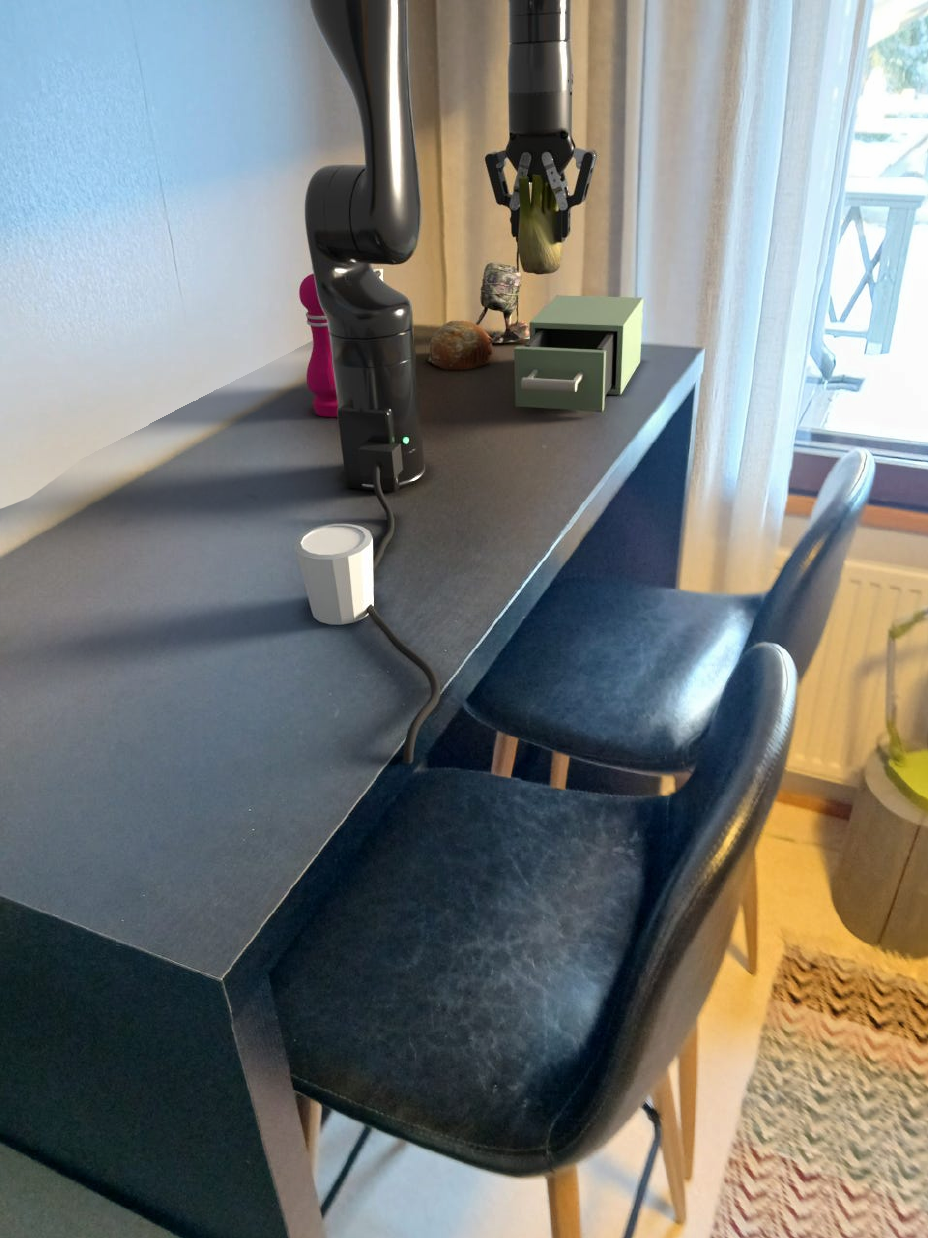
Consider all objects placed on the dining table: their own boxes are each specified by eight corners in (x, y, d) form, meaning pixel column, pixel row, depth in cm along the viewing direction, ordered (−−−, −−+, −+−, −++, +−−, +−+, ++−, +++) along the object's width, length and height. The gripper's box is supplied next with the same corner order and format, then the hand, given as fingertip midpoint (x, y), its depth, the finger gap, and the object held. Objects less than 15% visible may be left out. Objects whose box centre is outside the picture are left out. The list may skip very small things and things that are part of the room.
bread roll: (434, 376, 153) (411, 334, 148) (487, 342, 153) (465, 299, 148) (452, 394, 145) (427, 351, 140) (507, 358, 145) (485, 313, 140)
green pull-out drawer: (593, 426, 118) (595, 365, 114) (503, 420, 122) (501, 360, 117) (623, 377, 134) (625, 322, 130) (542, 373, 137) (542, 319, 133)
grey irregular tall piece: (486, 330, 162) (481, 206, 152) (548, 334, 158) (548, 206, 148) (469, 343, 156) (463, 214, 145) (533, 347, 152) (532, 215, 141)
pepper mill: (359, 417, 128) (342, 264, 117) (307, 419, 128) (285, 267, 118) (365, 400, 134) (349, 253, 123) (315, 402, 134) (295, 255, 124)
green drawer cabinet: (620, 395, 130) (623, 325, 125) (530, 389, 134) (529, 322, 129) (640, 362, 143) (643, 297, 138) (556, 357, 147) (556, 294, 141)
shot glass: (343, 582, 89) (334, 515, 85) (395, 603, 85) (388, 534, 82) (289, 613, 85) (277, 544, 81) (342, 636, 81) (331, 566, 77)
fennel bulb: (519, 278, 119) (518, 174, 112) (516, 270, 123) (514, 169, 116) (565, 275, 119) (566, 171, 112) (560, 267, 123) (560, 167, 117)
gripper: (472, 91, 109) (478, 246, 118) (593, 86, 105) (590, 247, 114) (491, 87, 115) (495, 235, 124) (606, 82, 111) (602, 236, 120)
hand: (540, 240), depth 119 cm, fingers closed on fennel bulb, 4 cm apart
